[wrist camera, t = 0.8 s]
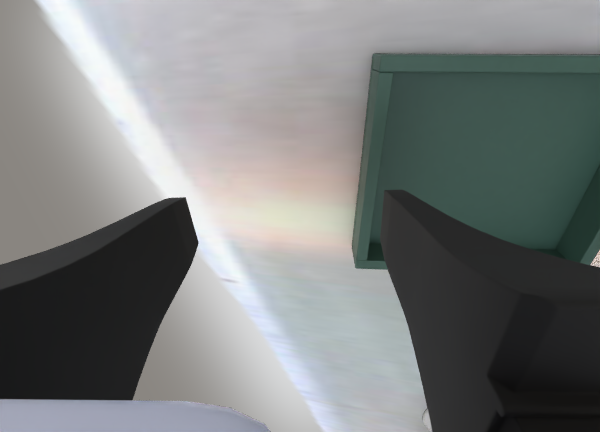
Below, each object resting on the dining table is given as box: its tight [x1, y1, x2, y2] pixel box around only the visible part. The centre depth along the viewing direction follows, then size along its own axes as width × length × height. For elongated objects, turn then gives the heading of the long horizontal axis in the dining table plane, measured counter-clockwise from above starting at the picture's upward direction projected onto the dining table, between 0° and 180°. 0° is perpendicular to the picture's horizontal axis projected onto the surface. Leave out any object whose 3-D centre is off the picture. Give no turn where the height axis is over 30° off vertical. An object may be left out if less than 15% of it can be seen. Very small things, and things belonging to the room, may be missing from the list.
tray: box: [352, 54, 600, 270], centre depth 17 cm, size 12×14×2 cm
